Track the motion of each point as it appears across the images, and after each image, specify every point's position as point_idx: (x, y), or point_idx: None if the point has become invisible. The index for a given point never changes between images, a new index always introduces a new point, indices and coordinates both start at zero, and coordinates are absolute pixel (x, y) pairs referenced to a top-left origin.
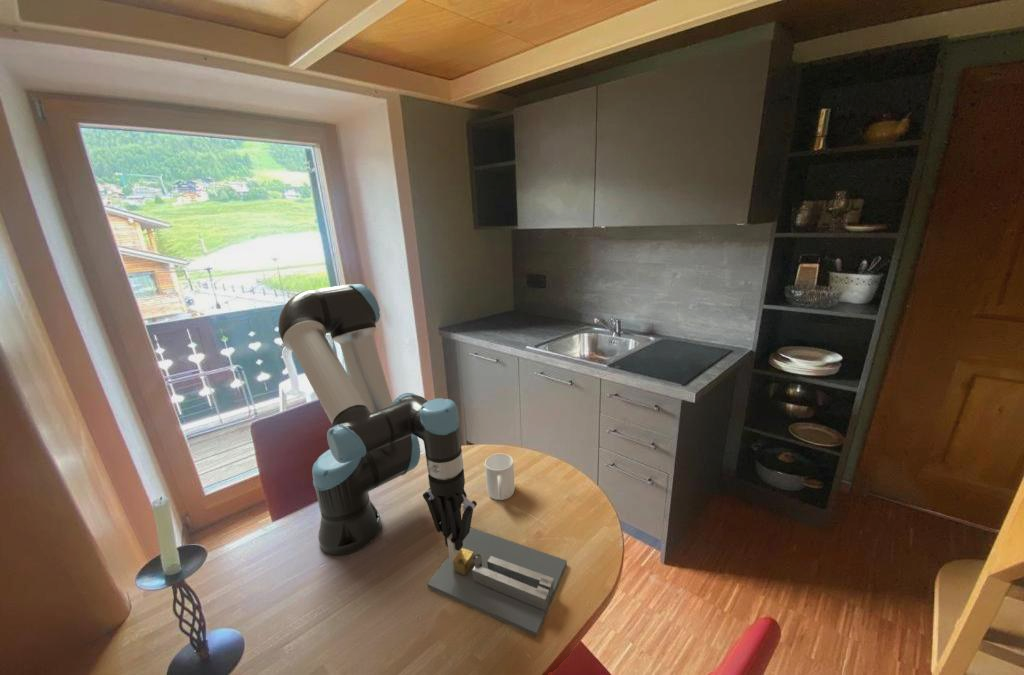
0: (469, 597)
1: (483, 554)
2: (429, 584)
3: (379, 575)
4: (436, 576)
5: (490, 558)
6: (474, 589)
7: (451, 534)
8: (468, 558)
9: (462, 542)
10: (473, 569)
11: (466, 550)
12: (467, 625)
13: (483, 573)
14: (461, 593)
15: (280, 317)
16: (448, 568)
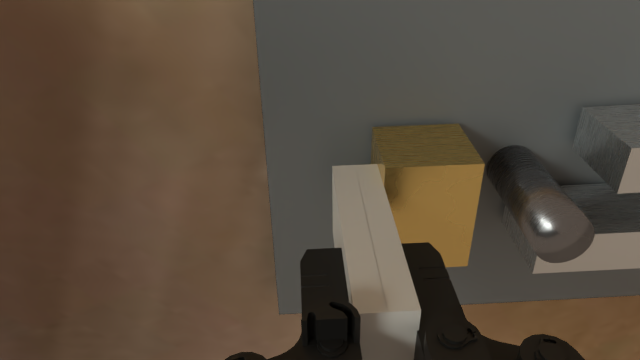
0: (515, 284)
1: (489, 40)
2: (292, 312)
3: (16, 337)
4: (293, 271)
5: (634, 165)
6: None
7: (365, 355)
8: (471, 218)
9: (446, 273)
10: (540, 268)
11: (427, 177)
12: (533, 331)
13: (613, 264)
14: (468, 285)
15: None
16: (324, 216)
